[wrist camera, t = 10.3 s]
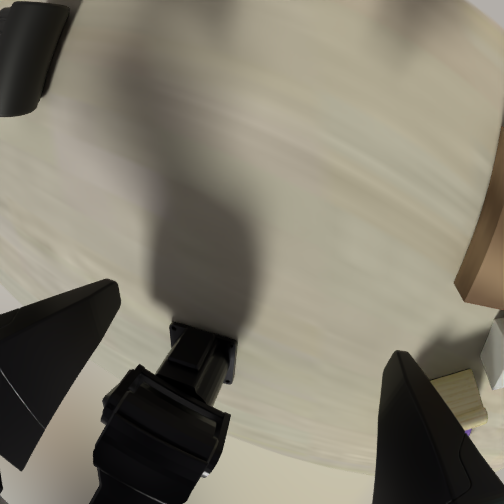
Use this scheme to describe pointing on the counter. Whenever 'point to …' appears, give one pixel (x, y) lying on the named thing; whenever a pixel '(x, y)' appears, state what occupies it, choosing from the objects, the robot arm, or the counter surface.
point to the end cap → (27, 52)
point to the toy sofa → (462, 398)
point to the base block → (487, 246)
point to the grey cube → (494, 354)
